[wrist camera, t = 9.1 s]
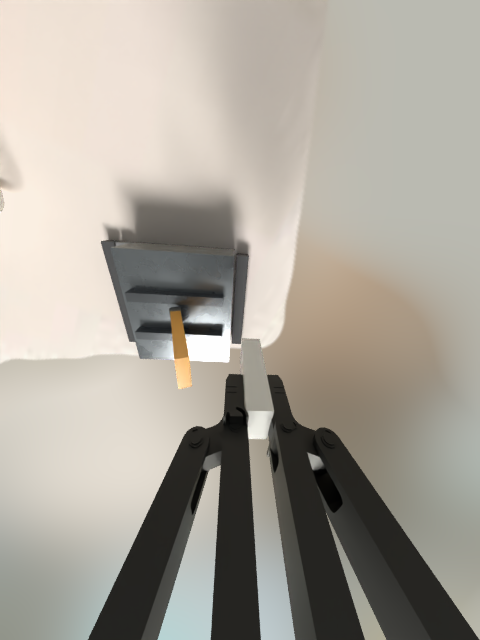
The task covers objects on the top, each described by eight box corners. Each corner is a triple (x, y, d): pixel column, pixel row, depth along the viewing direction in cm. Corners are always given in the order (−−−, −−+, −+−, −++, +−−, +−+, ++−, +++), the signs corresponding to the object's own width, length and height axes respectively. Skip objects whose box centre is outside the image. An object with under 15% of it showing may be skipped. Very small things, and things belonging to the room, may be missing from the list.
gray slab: (108, 240, 21) (100, 241, 20) (134, 241, 21) (127, 243, 20) (134, 336, 28) (129, 341, 27) (153, 337, 28) (149, 342, 27)
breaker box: (134, 242, 21) (100, 248, 16) (234, 249, 22) (234, 258, 17) (153, 337, 28) (134, 364, 23) (229, 340, 29) (228, 368, 23)
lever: (168, 307, 19) (172, 359, 12) (180, 306, 19) (190, 356, 12) (172, 330, 20) (177, 389, 13) (182, 329, 21) (193, 385, 14)
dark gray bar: (236, 253, 22) (237, 255, 21) (247, 254, 22) (248, 256, 21) (231, 338, 29) (231, 343, 27) (240, 338, 29) (240, 343, 27)
